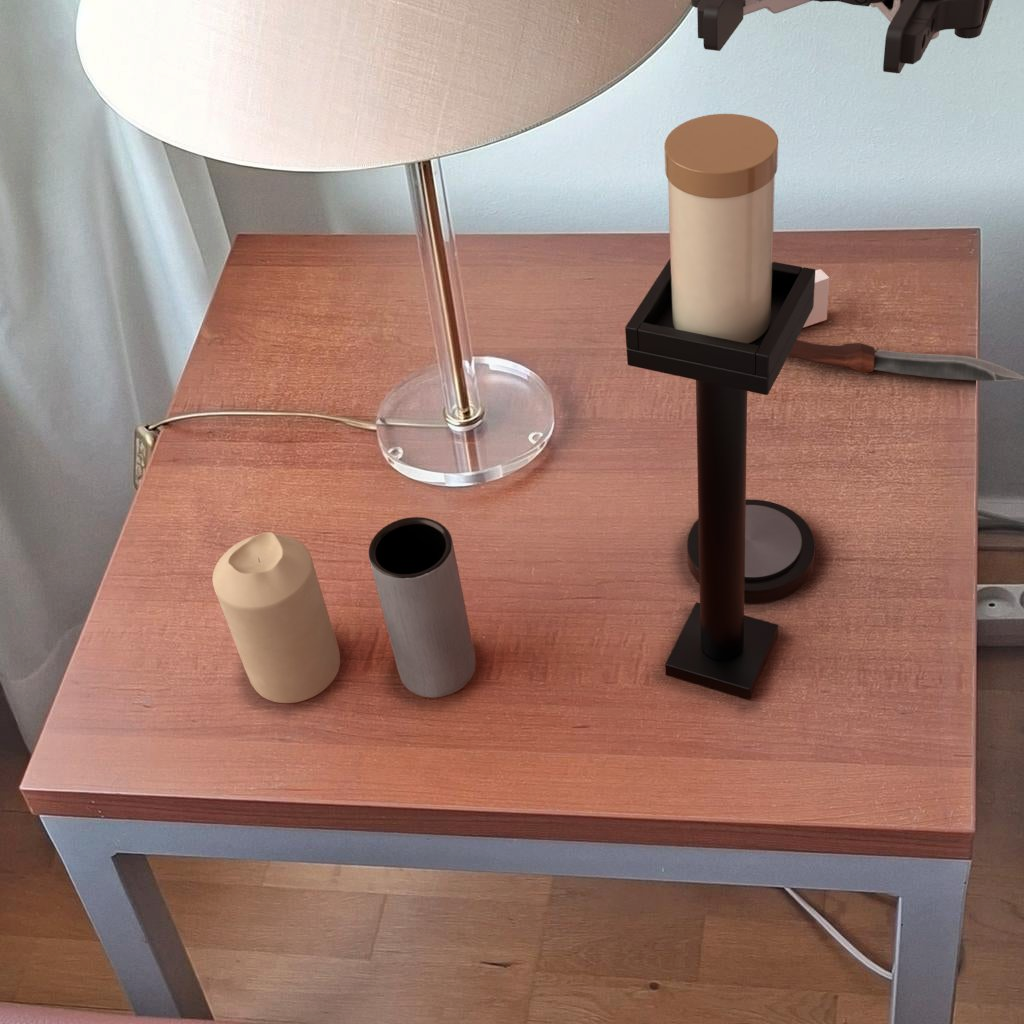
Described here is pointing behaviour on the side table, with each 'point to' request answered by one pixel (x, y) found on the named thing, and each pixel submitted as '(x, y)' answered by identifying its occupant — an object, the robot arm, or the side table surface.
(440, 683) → the planter
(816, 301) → the eraser
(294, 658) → the candle
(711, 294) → the spice jar
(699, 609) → the stand
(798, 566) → the plate
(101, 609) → the side table surface
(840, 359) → the knife
